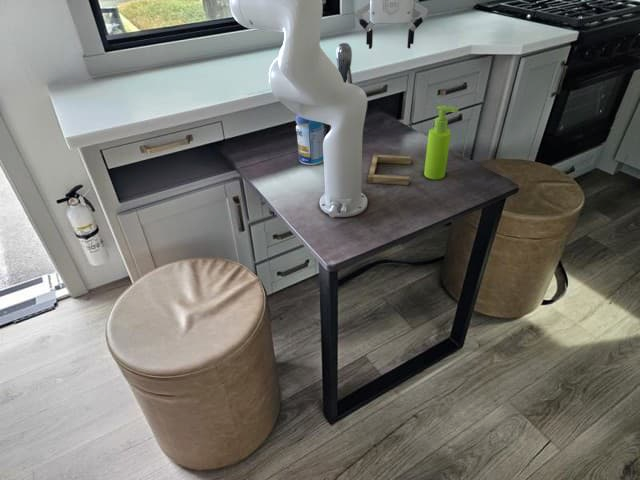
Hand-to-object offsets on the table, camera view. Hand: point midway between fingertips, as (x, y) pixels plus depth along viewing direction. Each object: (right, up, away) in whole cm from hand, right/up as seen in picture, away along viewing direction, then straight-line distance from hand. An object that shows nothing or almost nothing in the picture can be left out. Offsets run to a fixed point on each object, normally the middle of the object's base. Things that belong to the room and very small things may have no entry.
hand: (389, 47), depth 109 cm
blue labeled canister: (-20, -24, +26) cm, 41 cm away
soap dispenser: (+16, -30, +15) cm, 37 cm away
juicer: (-11, -13, +39) cm, 42 cm away
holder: (+3, -29, +18) cm, 34 cm away
